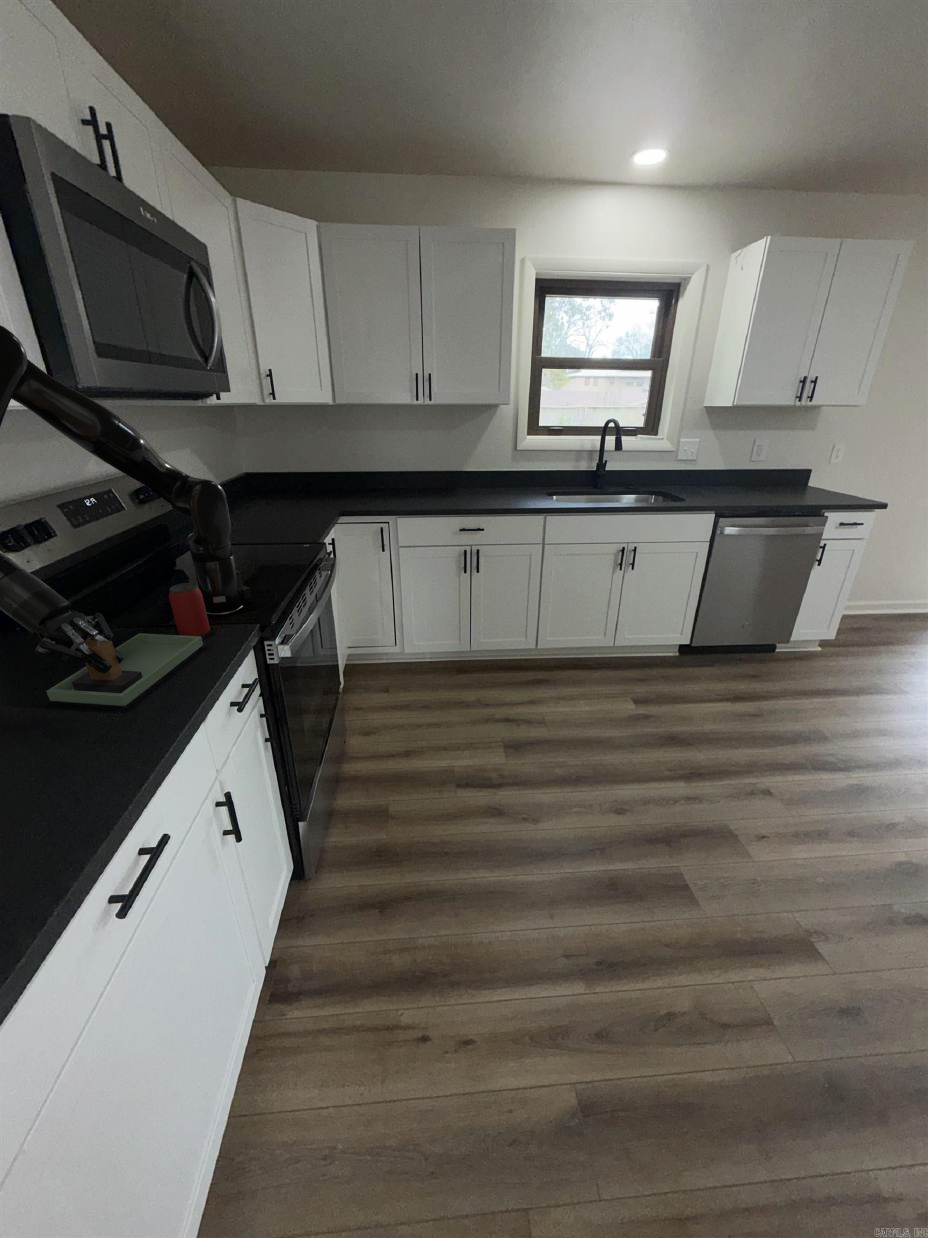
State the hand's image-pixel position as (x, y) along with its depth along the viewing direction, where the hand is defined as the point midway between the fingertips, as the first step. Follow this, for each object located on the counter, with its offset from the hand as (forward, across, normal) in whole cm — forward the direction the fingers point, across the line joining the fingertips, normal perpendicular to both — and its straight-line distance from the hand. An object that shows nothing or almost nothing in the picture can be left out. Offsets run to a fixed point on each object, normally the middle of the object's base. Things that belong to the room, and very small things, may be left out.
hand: (114, 665), depth 91 cm
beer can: (+3, +24, +4) cm, 25 cm away
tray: (+2, +6, +5) cm, 8 cm away
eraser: (+2, 0, +5) cm, 5 cm away
